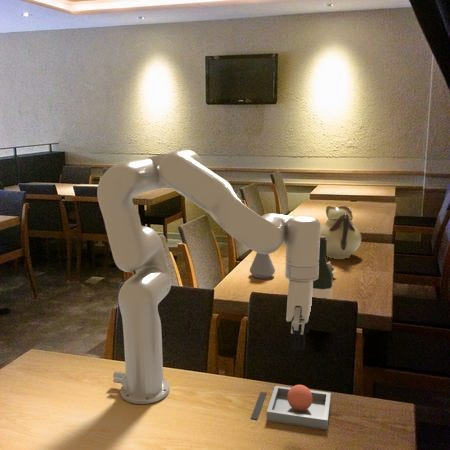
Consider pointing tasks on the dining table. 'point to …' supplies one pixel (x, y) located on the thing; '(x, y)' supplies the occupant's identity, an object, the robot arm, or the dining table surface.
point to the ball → (299, 397)
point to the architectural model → (331, 268)
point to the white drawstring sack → (340, 233)
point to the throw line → (258, 405)
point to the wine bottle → (323, 274)
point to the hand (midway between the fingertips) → (299, 340)
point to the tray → (309, 418)
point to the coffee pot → (262, 266)
